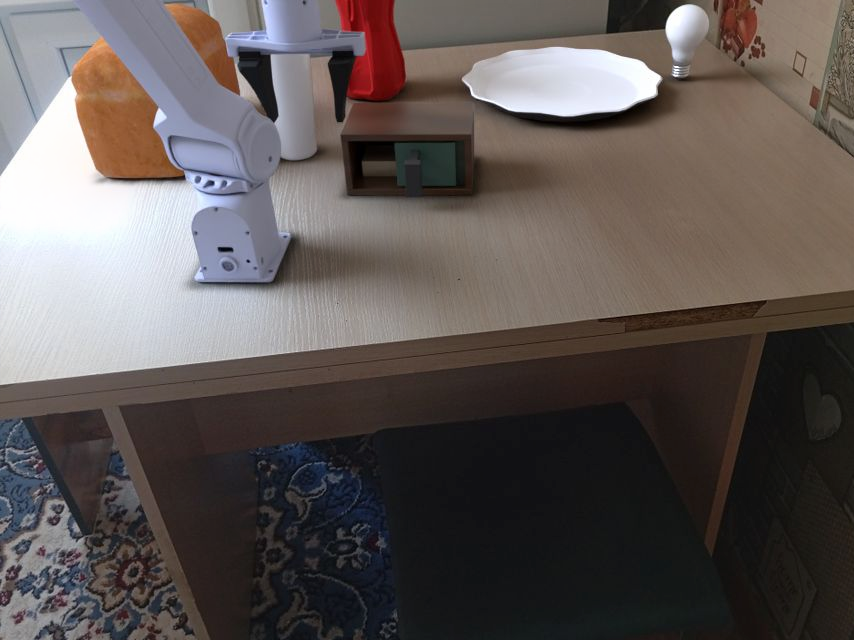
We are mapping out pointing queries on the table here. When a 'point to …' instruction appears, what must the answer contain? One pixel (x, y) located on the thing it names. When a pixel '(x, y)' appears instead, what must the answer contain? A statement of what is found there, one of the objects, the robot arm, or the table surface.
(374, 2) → the water bottle
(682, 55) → the lightbulb
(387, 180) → the cupboard
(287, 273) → the table surface
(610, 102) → the plate
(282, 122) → the white cylinder
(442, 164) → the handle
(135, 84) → the bread
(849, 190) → the table surface
